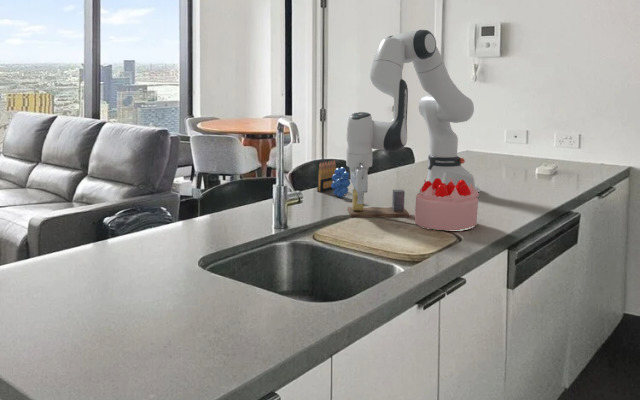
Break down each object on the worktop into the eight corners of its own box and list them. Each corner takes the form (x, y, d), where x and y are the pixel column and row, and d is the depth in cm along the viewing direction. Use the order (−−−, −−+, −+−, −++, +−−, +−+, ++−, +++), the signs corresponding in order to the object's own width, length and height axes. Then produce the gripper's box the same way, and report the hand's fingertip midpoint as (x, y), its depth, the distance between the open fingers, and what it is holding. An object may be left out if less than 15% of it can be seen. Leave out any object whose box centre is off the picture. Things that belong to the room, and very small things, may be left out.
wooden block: (362, 208, 226) (362, 189, 224) (363, 210, 222) (363, 191, 221) (352, 208, 226) (352, 189, 224) (353, 210, 222) (353, 191, 221)
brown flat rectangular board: (403, 209, 230) (403, 206, 230) (409, 216, 220) (409, 213, 219) (347, 209, 229) (347, 206, 229) (350, 217, 219) (350, 213, 218)
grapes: (358, 199, 247) (358, 168, 245) (343, 200, 244) (343, 169, 241) (341, 193, 257) (342, 163, 254) (327, 195, 254) (327, 164, 251)
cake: (413, 216, 220) (415, 175, 217) (473, 218, 219) (475, 177, 216) (416, 231, 201) (418, 186, 198) (481, 233, 200) (484, 188, 197)
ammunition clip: (320, 192, 259) (320, 162, 257) (317, 191, 260) (317, 162, 258) (337, 188, 267) (337, 159, 265) (333, 188, 268) (334, 159, 266)
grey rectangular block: (402, 209, 227) (402, 189, 225) (403, 211, 223) (404, 191, 222) (392, 209, 226) (392, 189, 225) (393, 211, 223) (394, 191, 221)
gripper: (372, 165, 210) (371, 207, 213) (365, 156, 230) (364, 194, 233) (353, 166, 210) (352, 207, 213) (347, 156, 230) (346, 194, 233)
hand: (358, 200), depth 223 cm, fingers open, 8 cm apart
